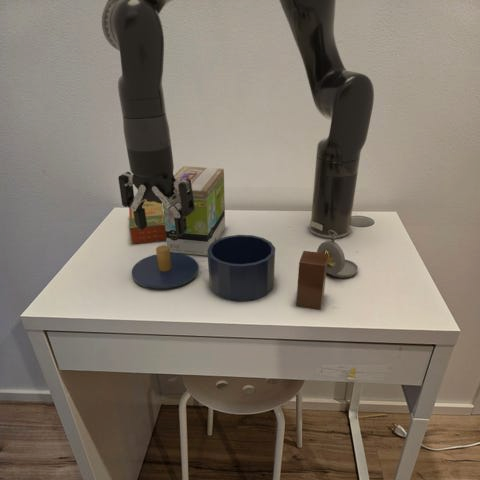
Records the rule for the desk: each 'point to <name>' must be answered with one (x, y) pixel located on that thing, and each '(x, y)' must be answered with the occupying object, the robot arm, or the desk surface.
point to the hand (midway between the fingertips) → (161, 231)
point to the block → (311, 279)
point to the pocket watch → (337, 259)
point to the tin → (241, 267)
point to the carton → (149, 224)
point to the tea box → (199, 212)
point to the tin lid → (165, 269)
